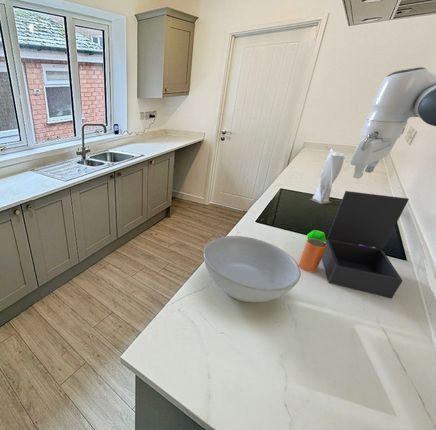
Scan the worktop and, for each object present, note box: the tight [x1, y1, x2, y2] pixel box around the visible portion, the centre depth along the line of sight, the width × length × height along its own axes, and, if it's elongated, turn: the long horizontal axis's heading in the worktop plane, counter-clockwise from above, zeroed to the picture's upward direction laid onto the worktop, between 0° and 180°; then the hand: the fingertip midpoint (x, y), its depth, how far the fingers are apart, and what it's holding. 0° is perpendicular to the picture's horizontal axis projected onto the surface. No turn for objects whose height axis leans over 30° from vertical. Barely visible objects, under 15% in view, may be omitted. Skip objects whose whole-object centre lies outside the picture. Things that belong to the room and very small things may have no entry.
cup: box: [297, 238, 327, 273], centre depth 91 cm, size 6×6×11 cm
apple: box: [306, 229, 327, 243], centre depth 107 cm, size 7×6×9 cm
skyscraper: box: [309, 147, 346, 205], centre depth 138 cm, size 8×8×28 cm
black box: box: [321, 238, 403, 299], centre depth 88 cm, size 18×16×8 cm
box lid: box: [326, 190, 410, 250], centre depth 89 cm, size 18×16×1 cm
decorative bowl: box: [203, 235, 302, 303], centre depth 83 cm, size 27×27×12 cm
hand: (362, 174), depth 84 cm, fingers open, 8 cm apart
